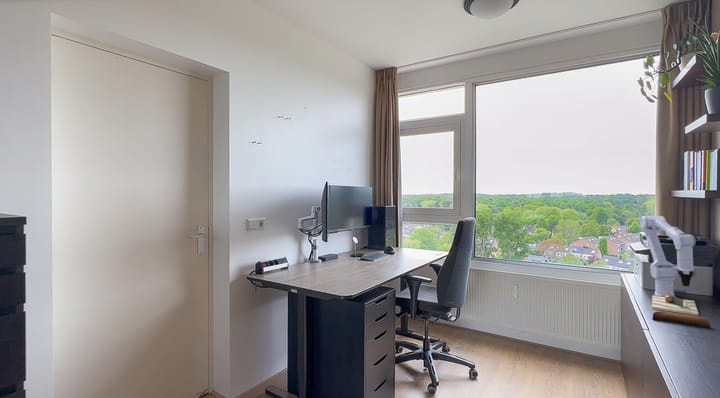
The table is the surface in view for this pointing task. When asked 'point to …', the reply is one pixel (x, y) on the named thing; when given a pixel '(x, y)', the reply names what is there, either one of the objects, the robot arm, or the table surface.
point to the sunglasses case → (681, 318)
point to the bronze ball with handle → (676, 300)
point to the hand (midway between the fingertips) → (685, 285)
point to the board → (673, 306)
